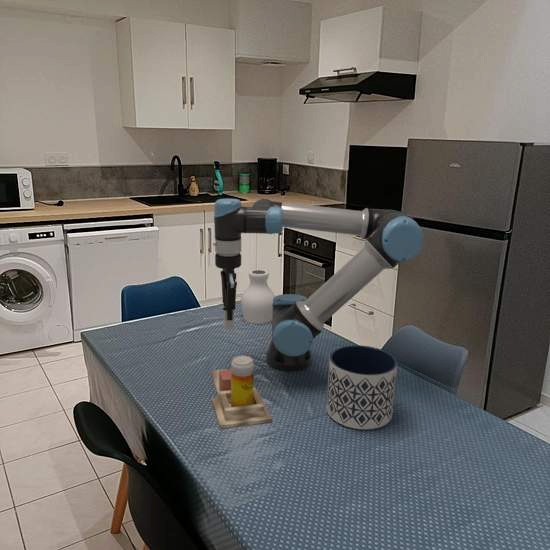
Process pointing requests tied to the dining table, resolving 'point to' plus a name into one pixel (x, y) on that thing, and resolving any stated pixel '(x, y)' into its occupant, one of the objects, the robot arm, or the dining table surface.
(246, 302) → the vase
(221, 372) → the salmon pink block
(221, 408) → the dock
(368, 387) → the planter
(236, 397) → the beer can
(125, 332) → the dining table surface
